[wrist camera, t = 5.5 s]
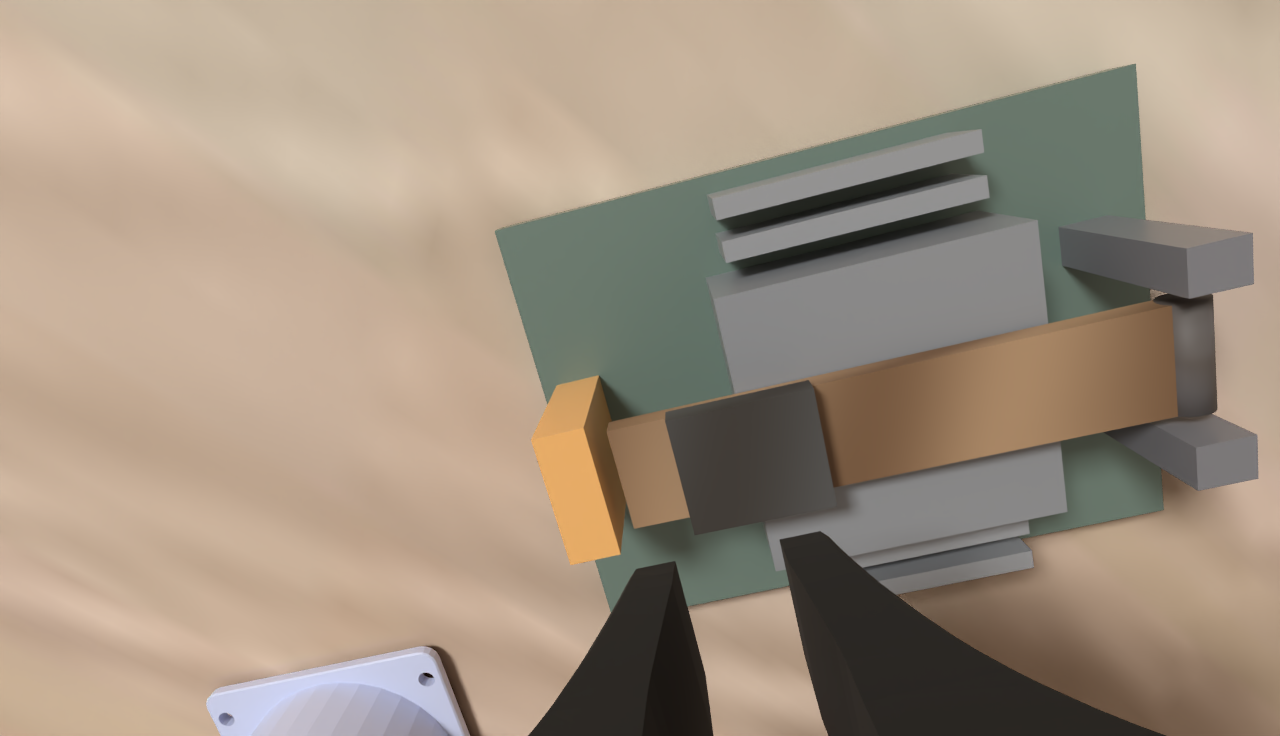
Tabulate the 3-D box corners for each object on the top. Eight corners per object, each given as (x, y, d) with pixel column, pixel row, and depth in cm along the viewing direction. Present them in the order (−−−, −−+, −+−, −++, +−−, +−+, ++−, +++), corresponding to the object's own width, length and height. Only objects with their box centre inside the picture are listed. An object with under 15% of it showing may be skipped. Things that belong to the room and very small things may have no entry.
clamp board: (1140, 494, 21) (1304, 607, 16) (615, 601, 23) (601, 739, 17) (1110, 68, 18) (1302, 29, 13) (502, 227, 19) (442, 253, 14)
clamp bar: (1190, 281, 15) (1240, 293, 14) (1196, 401, 16) (1243, 423, 15) (608, 413, 17) (602, 435, 16) (637, 518, 18) (634, 547, 16)
